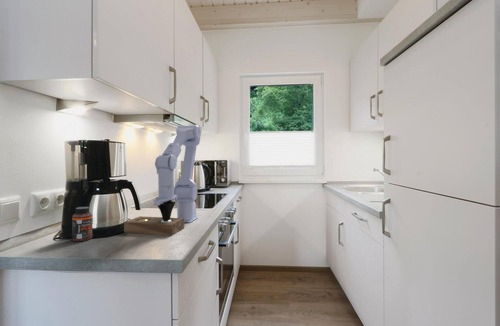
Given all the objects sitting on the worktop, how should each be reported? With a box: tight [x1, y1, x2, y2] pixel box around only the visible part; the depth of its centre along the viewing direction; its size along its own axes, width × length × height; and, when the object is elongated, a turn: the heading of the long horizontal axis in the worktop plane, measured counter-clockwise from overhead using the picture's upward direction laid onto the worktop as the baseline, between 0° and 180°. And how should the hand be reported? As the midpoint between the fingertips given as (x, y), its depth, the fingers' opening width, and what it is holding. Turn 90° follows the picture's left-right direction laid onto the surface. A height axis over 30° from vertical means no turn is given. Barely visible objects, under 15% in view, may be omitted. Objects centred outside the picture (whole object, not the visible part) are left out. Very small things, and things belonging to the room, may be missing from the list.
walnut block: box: [123, 215, 185, 236], centre depth 103 cm, size 10×20×4 cm, turn 79°
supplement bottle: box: [71, 206, 93, 242], centre depth 91 cm, size 6×6×11 cm
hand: (166, 220), depth 102 cm, fingers closed, pressing on steel peg
